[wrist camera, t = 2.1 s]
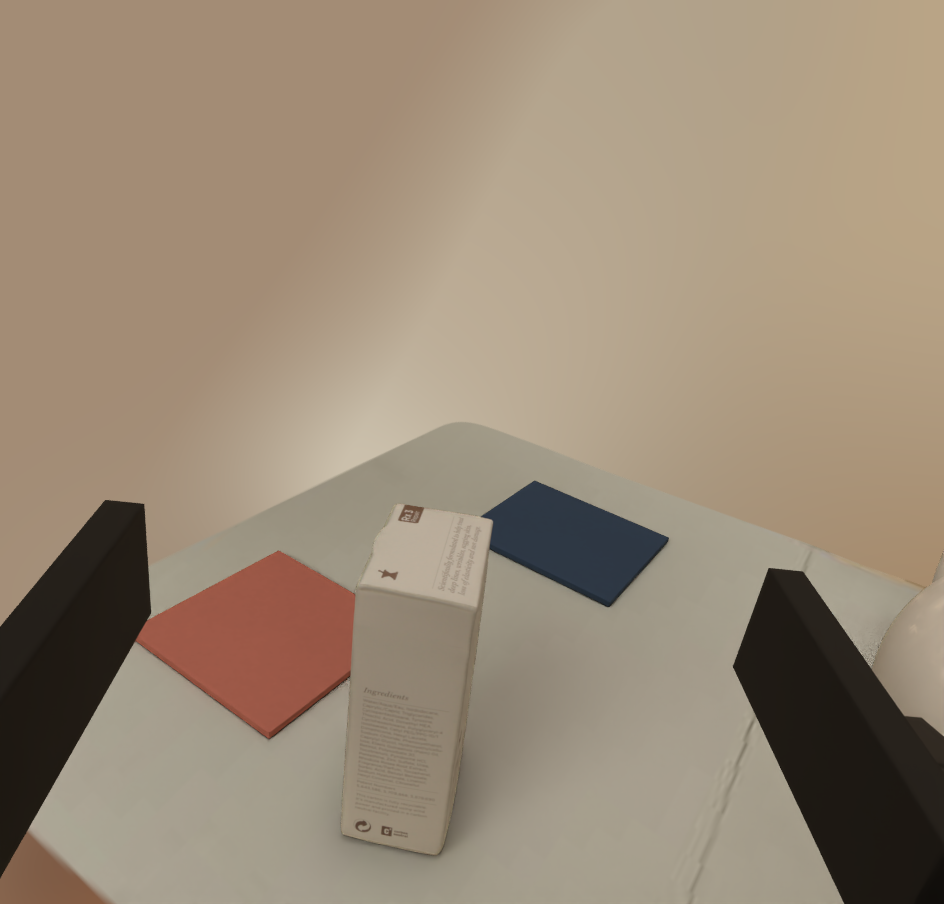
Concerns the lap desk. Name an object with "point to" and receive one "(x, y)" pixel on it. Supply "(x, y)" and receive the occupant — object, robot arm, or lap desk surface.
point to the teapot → (917, 655)
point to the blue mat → (572, 541)
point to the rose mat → (260, 640)
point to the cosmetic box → (412, 676)
